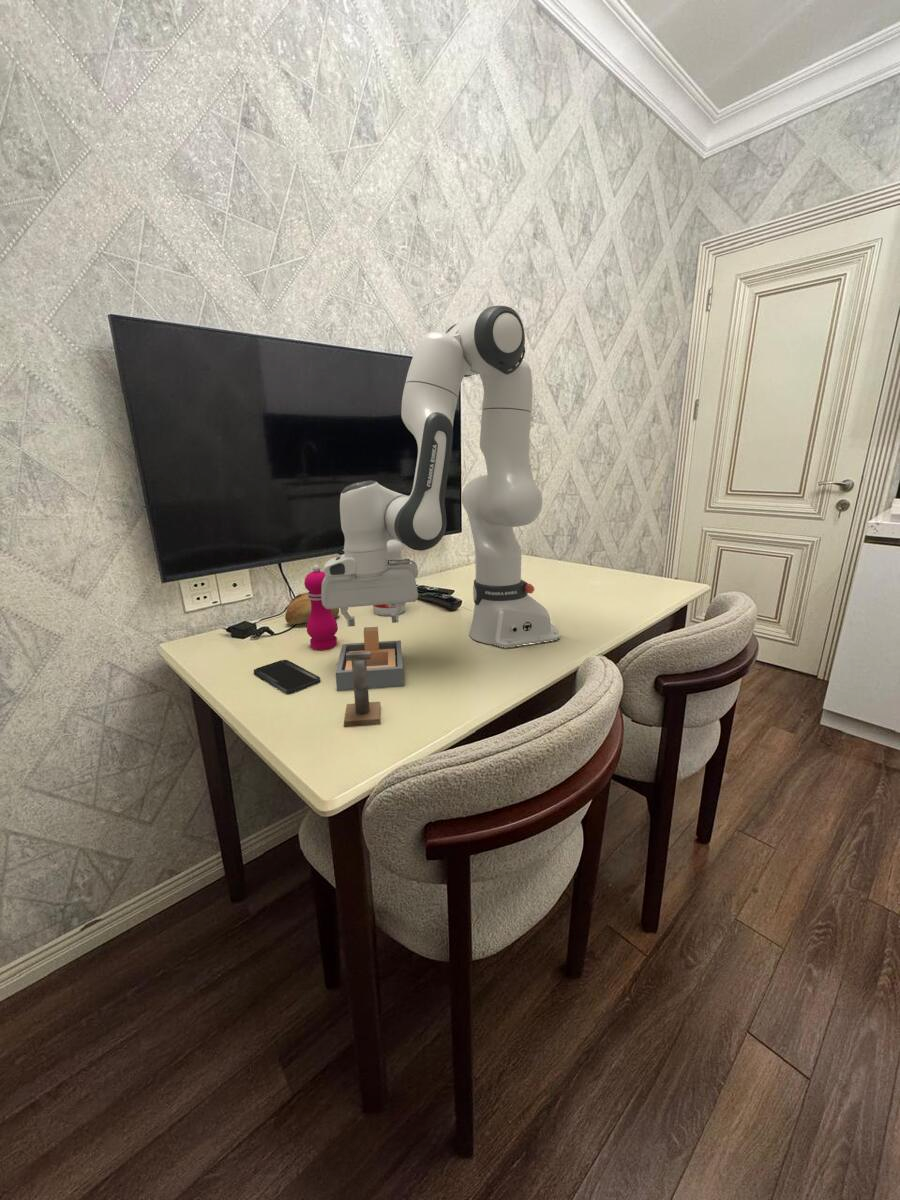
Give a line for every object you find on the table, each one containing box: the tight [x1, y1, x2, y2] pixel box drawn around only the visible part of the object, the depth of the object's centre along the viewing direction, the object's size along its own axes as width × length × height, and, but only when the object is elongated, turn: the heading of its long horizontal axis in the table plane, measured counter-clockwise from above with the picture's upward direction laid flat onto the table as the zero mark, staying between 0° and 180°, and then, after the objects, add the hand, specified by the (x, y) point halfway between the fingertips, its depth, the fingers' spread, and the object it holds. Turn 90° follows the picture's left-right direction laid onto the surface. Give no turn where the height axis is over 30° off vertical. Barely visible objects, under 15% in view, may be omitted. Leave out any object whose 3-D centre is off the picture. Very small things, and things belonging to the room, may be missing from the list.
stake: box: [343, 651, 381, 728], centre depth 82 cm, size 6×6×12 cm
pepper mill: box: [304, 564, 339, 651], centre depth 113 cm, size 7×7×20 cm
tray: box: [335, 639, 405, 692], centre depth 100 cm, size 13×15×4 cm
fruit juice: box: [372, 539, 406, 617], centre depth 136 cm, size 9×9×28 cm
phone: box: [253, 659, 322, 695], centre depth 99 cm, size 8×1×15 cm
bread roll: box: [284, 592, 340, 625], centre depth 132 cm, size 10×15×8 cm, turn 125°
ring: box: [345, 626, 396, 670], centre depth 100 cm, size 10×12×7 cm
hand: (373, 623), depth 104 cm, fingers open, 8 cm apart
